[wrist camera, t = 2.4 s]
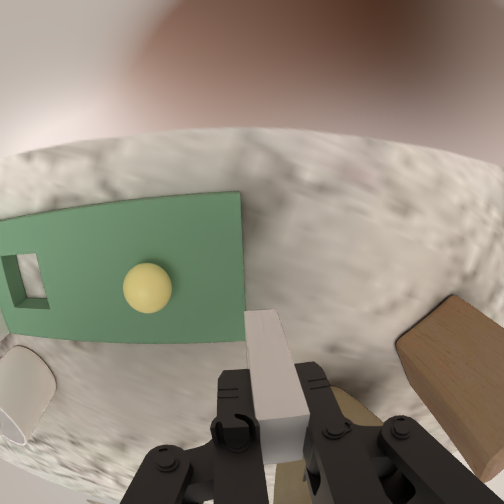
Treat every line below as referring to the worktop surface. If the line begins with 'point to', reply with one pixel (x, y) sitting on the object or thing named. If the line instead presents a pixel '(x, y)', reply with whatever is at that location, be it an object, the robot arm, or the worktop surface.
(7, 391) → the mug
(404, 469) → the robot arm
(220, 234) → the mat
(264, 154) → the worktop surface
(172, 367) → the worktop surface
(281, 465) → the plant pot
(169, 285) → the ball
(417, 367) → the wooden block
